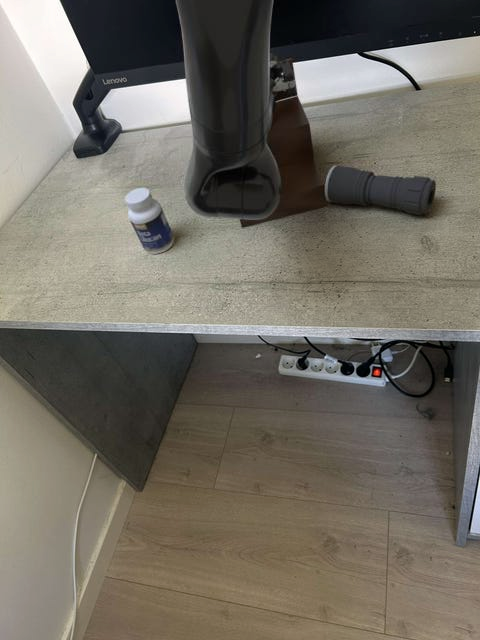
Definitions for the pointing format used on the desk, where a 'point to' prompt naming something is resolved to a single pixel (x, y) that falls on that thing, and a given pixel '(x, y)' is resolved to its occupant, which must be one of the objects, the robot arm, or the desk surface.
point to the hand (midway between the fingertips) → (251, 64)
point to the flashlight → (379, 190)
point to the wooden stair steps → (293, 159)
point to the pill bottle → (149, 221)
